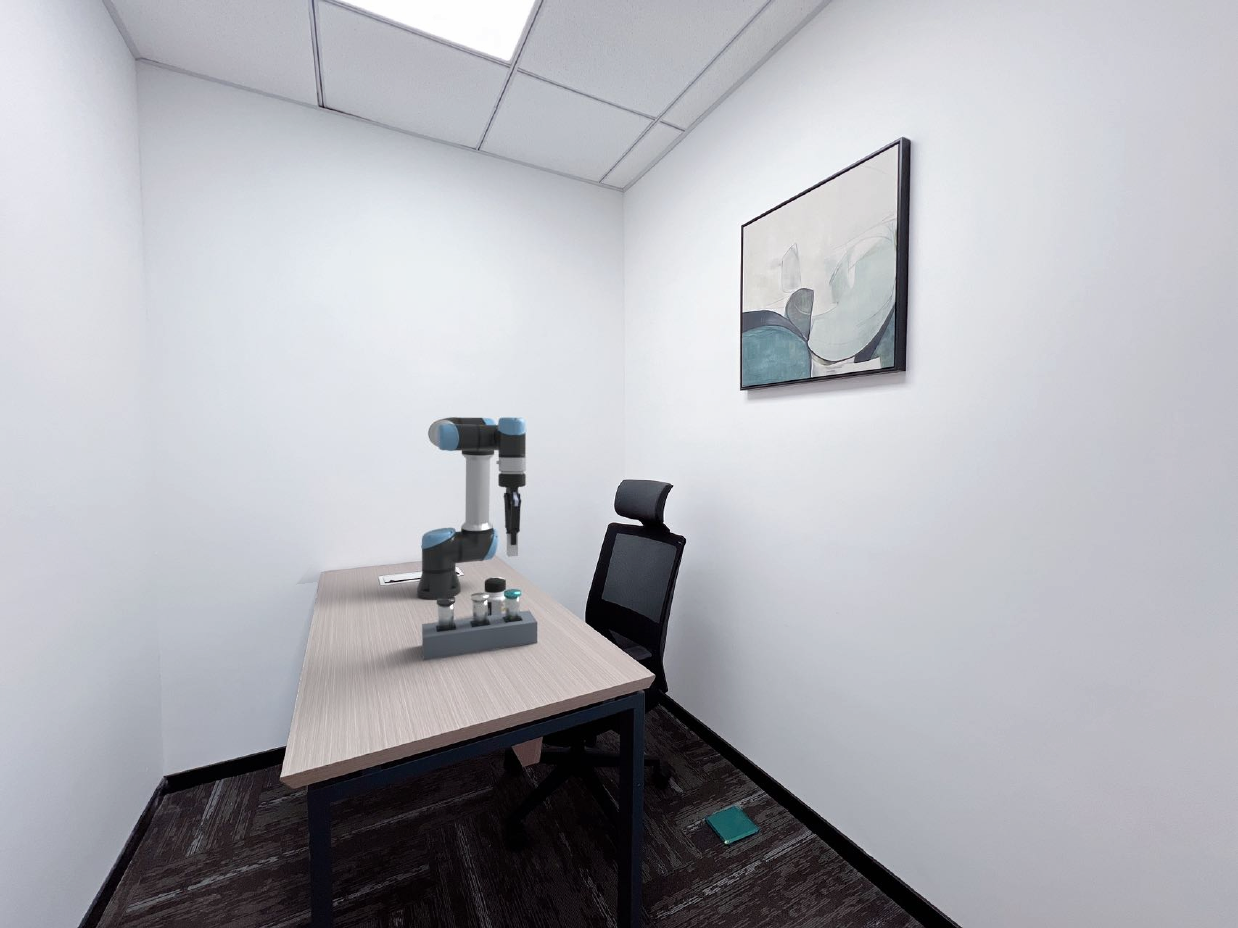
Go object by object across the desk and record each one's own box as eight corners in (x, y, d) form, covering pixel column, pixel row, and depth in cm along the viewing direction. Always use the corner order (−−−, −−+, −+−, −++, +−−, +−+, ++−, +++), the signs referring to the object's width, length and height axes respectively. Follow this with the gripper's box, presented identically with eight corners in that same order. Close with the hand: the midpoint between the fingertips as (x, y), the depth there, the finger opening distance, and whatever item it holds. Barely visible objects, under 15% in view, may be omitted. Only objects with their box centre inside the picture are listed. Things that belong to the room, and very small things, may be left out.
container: (501, 624, 156) (501, 583, 155) (478, 622, 158) (478, 581, 157) (511, 615, 164) (511, 576, 163) (489, 613, 165) (489, 574, 165)
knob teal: (502, 618, 146) (502, 590, 145) (519, 616, 148) (519, 588, 147) (505, 624, 142) (505, 594, 141) (522, 622, 143) (522, 593, 143)
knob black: (436, 627, 139) (436, 597, 139) (454, 624, 141) (454, 595, 140) (437, 633, 135) (437, 602, 134) (456, 631, 136) (455, 600, 136)
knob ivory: (470, 622, 142) (470, 593, 142) (487, 620, 144) (487, 591, 144) (472, 628, 138) (472, 598, 138) (490, 626, 140) (490, 596, 139)
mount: (422, 645, 140) (422, 624, 140) (529, 629, 152) (529, 610, 152) (423, 660, 131) (423, 637, 131) (537, 642, 143) (537, 621, 142)
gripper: (494, 471, 147) (494, 550, 149) (502, 474, 134) (503, 562, 136) (520, 470, 150) (520, 548, 151) (530, 474, 137) (530, 559, 139)
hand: (512, 555), depth 144 cm, fingers closed
